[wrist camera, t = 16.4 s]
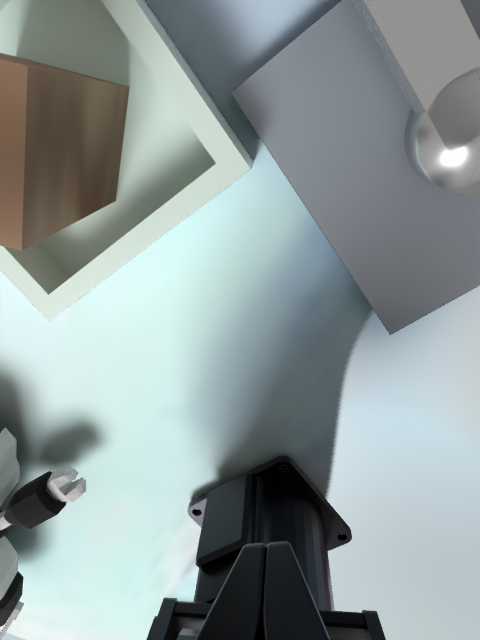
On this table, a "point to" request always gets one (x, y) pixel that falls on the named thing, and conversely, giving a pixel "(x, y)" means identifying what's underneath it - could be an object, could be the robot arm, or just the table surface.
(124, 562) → the table surface
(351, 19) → the crank base
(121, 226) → the tray
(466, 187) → the crank
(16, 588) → the robot toy
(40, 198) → the brown block
